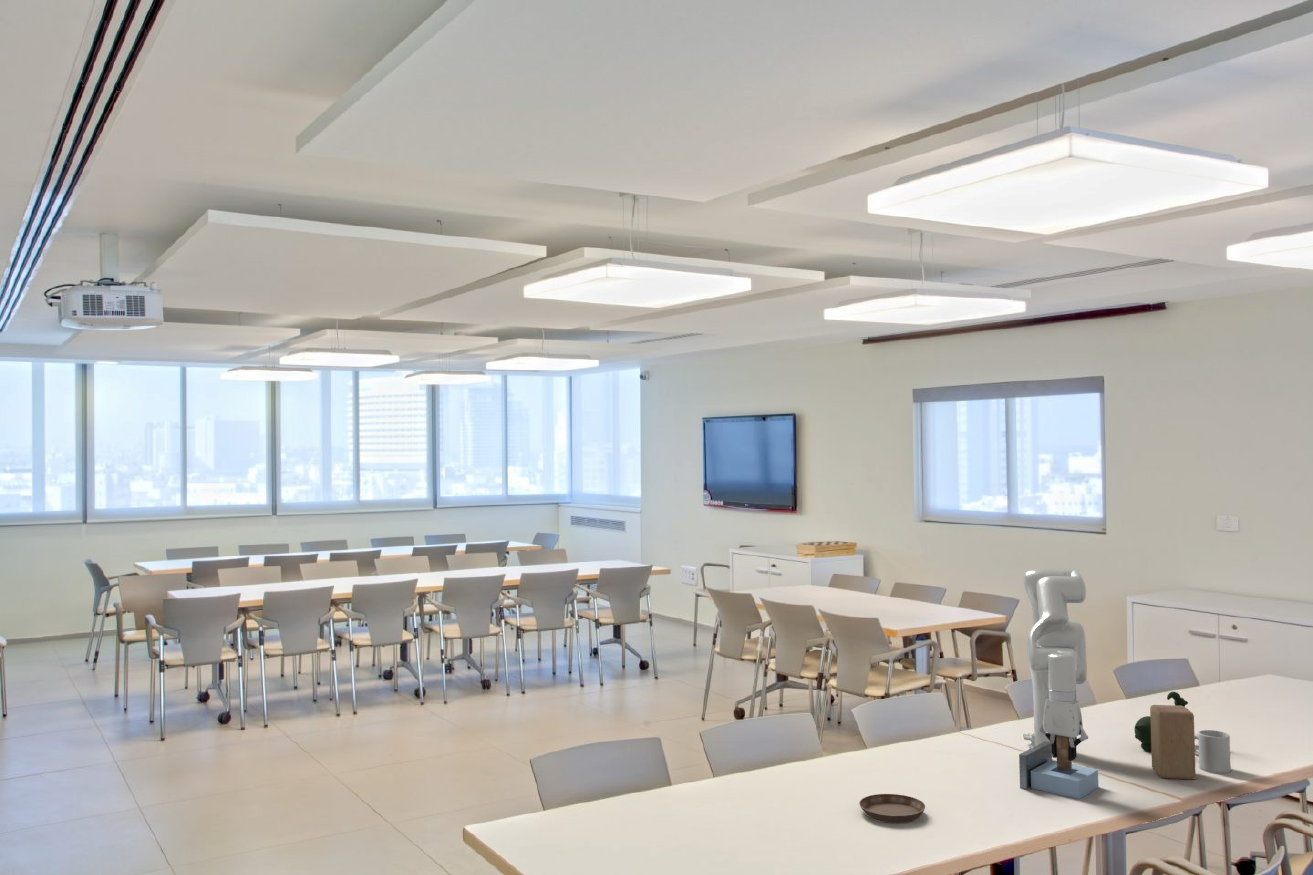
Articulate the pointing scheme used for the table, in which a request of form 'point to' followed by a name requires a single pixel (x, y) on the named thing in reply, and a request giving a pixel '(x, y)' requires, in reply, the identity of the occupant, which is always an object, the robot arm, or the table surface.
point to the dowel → (1063, 753)
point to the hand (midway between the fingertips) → (1064, 757)
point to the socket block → (1064, 780)
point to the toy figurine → (1144, 723)
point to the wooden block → (1172, 741)
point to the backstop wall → (1033, 762)
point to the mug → (1213, 751)
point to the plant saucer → (892, 808)
